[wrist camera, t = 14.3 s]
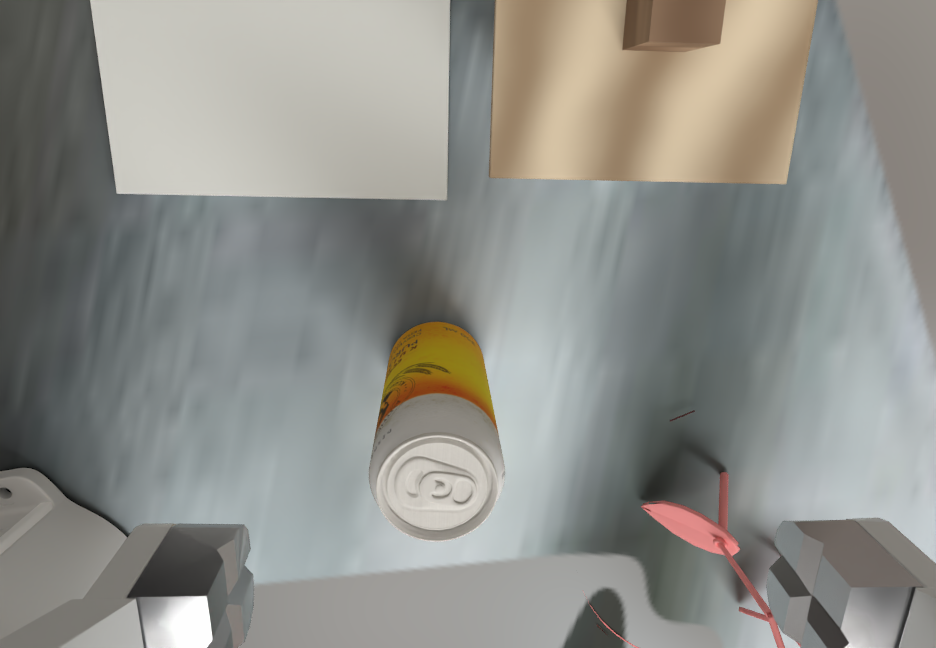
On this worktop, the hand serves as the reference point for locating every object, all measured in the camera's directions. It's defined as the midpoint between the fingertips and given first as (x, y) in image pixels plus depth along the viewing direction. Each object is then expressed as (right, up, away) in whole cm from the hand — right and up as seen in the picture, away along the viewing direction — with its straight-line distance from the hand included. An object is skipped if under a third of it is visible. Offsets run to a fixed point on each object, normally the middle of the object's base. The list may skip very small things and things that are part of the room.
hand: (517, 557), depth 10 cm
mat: (-11, +20, +26) cm, 34 cm away
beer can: (-3, +1, +32) cm, 33 cm away
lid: (+8, +18, +21) cm, 29 cm away
